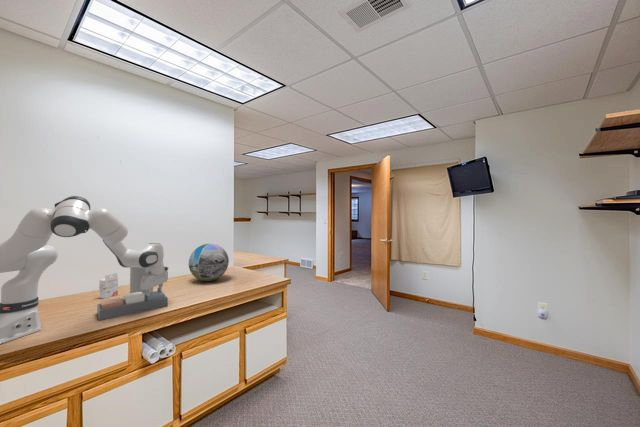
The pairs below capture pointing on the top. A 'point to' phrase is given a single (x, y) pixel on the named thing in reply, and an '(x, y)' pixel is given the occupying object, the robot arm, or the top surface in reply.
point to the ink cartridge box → (108, 286)
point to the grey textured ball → (208, 262)
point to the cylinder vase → (137, 279)
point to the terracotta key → (111, 303)
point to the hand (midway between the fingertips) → (154, 293)
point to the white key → (133, 298)
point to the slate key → (154, 295)
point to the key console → (131, 308)
